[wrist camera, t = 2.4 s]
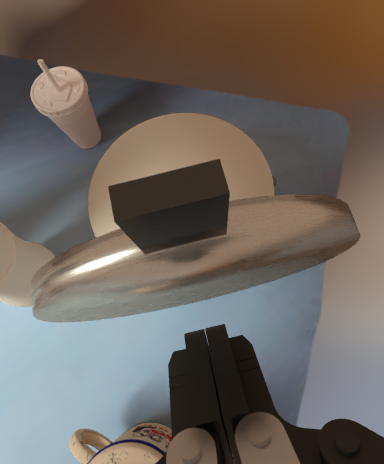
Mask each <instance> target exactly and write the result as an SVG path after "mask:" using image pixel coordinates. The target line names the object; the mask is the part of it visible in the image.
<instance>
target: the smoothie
mask: <svg viewBox="0 0 384 464" xmlns="http://www.w3.org/2000/svg"><path fill="white" fill-rule="evenodd" d="M37 62H38V64H39V65H40V67H41V69H42V70H43V73H42V74H41V75H40V76H38V77H37V79H36V80H35V81H34V83H33V85H32V87H31V94H30V95H31V100H32V102H33V103H34V105H35V106H36V108H37V109H38V111H39V112H40V113H42V114H44V115H46V116H48V117H49V118H50V119H51V120H52V121H53V122H54V123H55V124H56V125H57V126H58V127H59V128H61V129H62V130H63V131H64V132H65V133H66V134H67V135H68V136H69V137H70V138H71V139H72V140H73V141H74V142H75V143H76V144H77V145H78V146H79V147H81V148H83V149H90V148H93V147H95V146H96V145H97V144H98V143H99V142H100V140H101V131H100V129H99V126H98V123H97V120H96V117H95V114H94V111H93V108H92V105H91V103H90V100H89V96H88V94H87V93H88V87H87V83H86V81H85V79H84V78H83V76H82V75H81V74H80V73H79V72H78V71H77V70H75V69H73V68H70V67H65V66H60V67H54V68H51V69H48V68H47V66H46V65H45V63H44V61H43V60H42V59H39V60H38V61H37Z"/></svg>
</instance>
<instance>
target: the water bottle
mask: <svg viewBox="0 0 384 464" xmlns="http://www.w3.org/2000/svg"><path fill="white" fill-rule="evenodd" d="M53 258H55V256H54V254H53V252H51V251H50V250H49V249H47V248H45V247H44V246H42V245H40V244H38V243H35V242H28V241H24V240H22V239H20V238H18V237H17V236H15V235H14V234H13V233H12V232H11V231H10V230H9V229H8V228H7V227H6V226H5V225H4V224H2V223H1V222H0V300H1V301H3V302H4V303H6V304H9V305H14V306H19V307H31V306H32V299H31V288H30V281H31V279H32V276H33V275H34V274H35V273H36V272H37V271H38V270H39V269H40V268H41V267H42V266H43V265H45V264H46V263H48V262H49V261H50V260H52V259H53Z"/></svg>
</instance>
